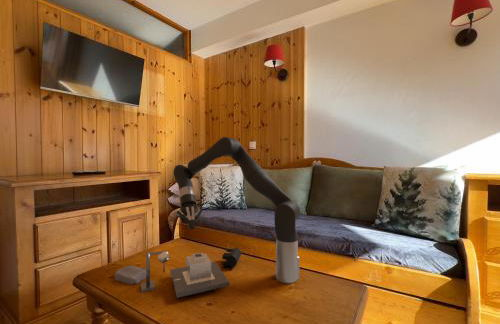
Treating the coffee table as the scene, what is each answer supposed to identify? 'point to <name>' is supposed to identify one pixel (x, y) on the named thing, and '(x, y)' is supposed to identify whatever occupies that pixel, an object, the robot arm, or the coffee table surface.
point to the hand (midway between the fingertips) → (192, 228)
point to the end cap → (231, 258)
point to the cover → (198, 267)
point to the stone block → (130, 274)
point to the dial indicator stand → (149, 284)
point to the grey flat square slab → (187, 288)
